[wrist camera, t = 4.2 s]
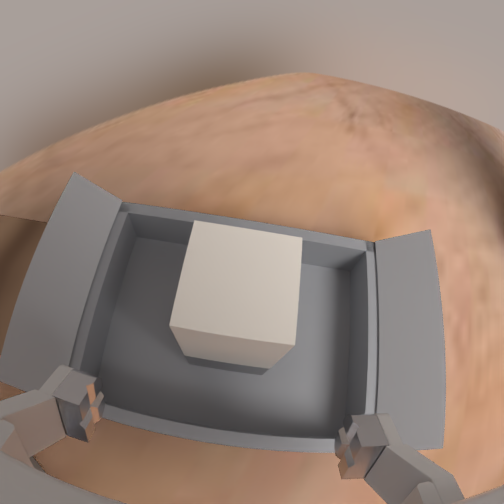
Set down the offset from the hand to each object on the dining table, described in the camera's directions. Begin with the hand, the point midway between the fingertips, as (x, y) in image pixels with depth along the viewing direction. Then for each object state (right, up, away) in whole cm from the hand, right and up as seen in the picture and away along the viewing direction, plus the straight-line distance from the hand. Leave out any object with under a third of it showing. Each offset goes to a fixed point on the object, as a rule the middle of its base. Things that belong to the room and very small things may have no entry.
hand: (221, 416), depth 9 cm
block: (0, 0, +11) cm, 11 cm away
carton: (0, 0, +11) cm, 11 cm away
